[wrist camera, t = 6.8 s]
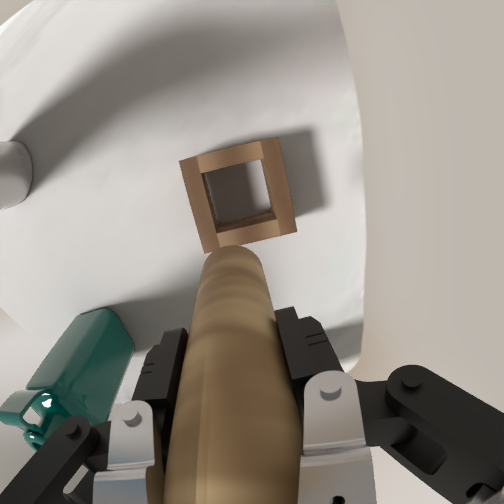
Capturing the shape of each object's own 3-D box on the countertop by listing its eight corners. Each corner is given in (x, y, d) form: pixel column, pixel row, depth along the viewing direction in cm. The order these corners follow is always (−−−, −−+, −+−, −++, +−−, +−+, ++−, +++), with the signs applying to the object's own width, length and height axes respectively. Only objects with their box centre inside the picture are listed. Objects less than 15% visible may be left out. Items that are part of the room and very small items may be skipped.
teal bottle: (140, 351, 38) (98, 480, 17) (98, 359, 38) (47, 470, 17) (108, 295, 34) (27, 418, 14) (66, 309, 35) (-13, 413, 14)
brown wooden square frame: (208, 239, 33) (204, 253, 28) (187, 159, 30) (178, 161, 25) (287, 220, 33) (297, 231, 28) (270, 139, 30) (277, 137, 25)
